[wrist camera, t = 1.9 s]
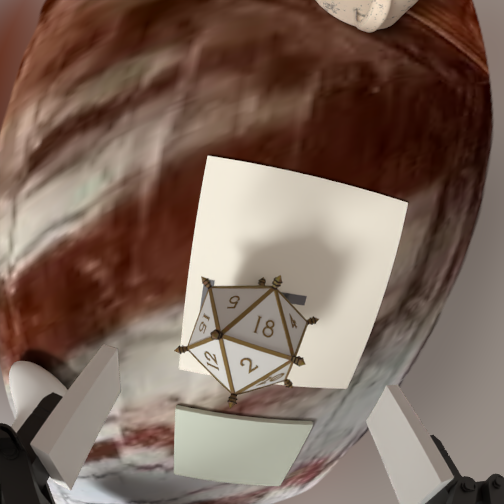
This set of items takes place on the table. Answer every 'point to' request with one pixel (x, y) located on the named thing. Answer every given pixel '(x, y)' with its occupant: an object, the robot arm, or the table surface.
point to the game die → (247, 336)
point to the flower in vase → (30, 388)
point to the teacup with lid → (367, 12)
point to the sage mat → (236, 447)
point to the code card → (296, 257)
